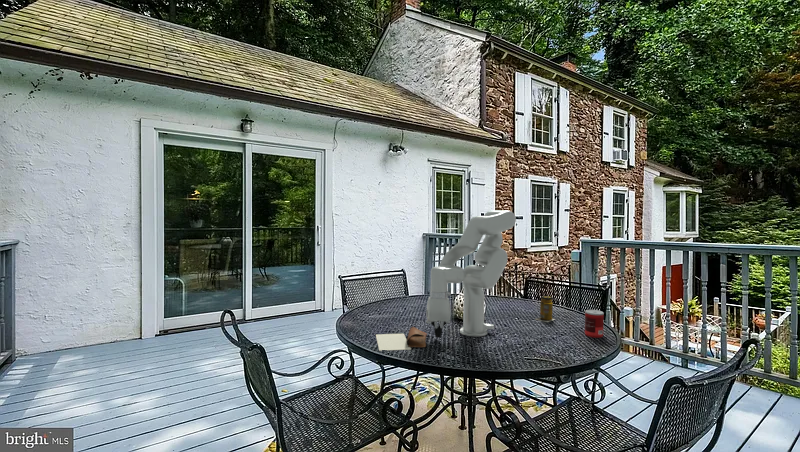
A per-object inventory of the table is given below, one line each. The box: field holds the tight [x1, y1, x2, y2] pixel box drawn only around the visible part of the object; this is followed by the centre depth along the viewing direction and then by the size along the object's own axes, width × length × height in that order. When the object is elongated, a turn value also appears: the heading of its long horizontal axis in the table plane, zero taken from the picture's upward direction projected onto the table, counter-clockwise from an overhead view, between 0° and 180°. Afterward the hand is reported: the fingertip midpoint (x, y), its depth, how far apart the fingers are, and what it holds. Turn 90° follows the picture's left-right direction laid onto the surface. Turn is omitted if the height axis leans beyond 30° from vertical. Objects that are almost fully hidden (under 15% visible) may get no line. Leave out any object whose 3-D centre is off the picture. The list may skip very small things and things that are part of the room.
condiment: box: [535, 295, 556, 323], centre depth 208 cm, size 7×8×12 cm
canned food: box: [584, 309, 605, 339], centre depth 181 cm, size 8×8×11 cm
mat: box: [375, 333, 412, 352], centre depth 171 cm, size 13×21×1 cm, turn 8°
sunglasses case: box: [406, 326, 428, 348], centre depth 173 cm, size 18×7×7 cm, turn 176°
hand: (438, 336), depth 174 cm, fingers closed
